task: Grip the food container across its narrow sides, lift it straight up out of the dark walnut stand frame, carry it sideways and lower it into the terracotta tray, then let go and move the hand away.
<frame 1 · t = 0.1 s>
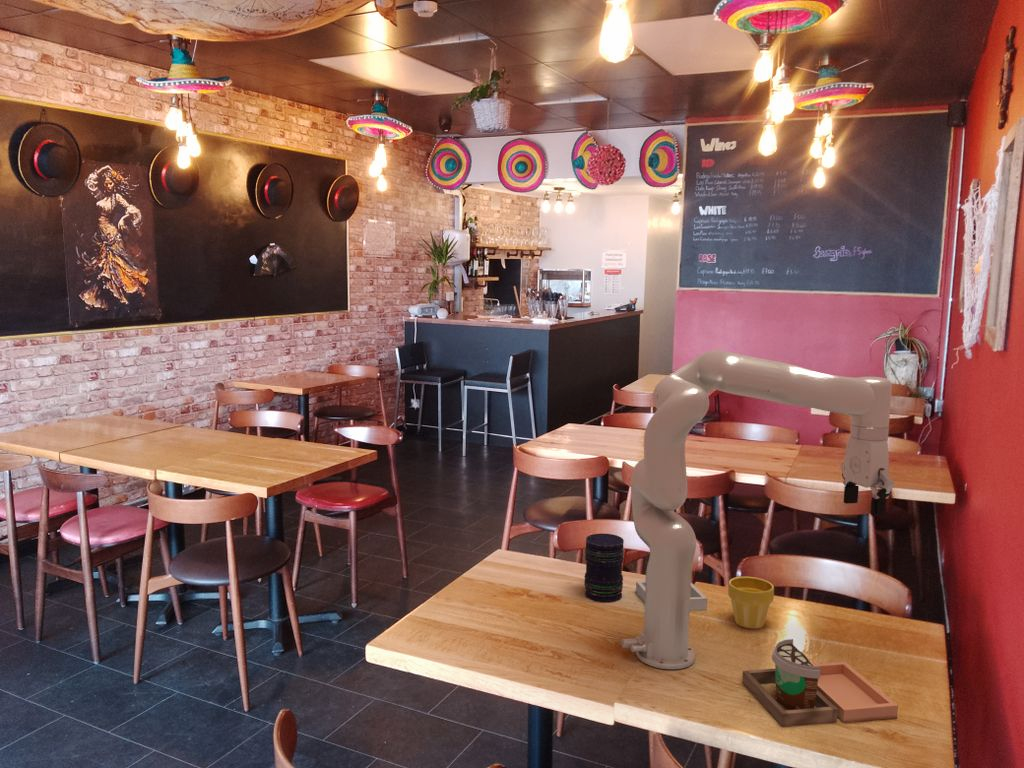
hand: (863, 509, 172), 31 cm above the table, tool pointing down, fingers open, 9 cm apart
grey parts rim: (670, 600, 198), on the table
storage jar: (603, 595, 201), on the table
terracotta tray: (843, 696, 153), on the table
pipe fitting: (670, 602, 198), on the table
food container: (787, 702, 151), on the table
walnut stand frame: (787, 701, 151), on the table
plant pot: (749, 623, 186), on the table
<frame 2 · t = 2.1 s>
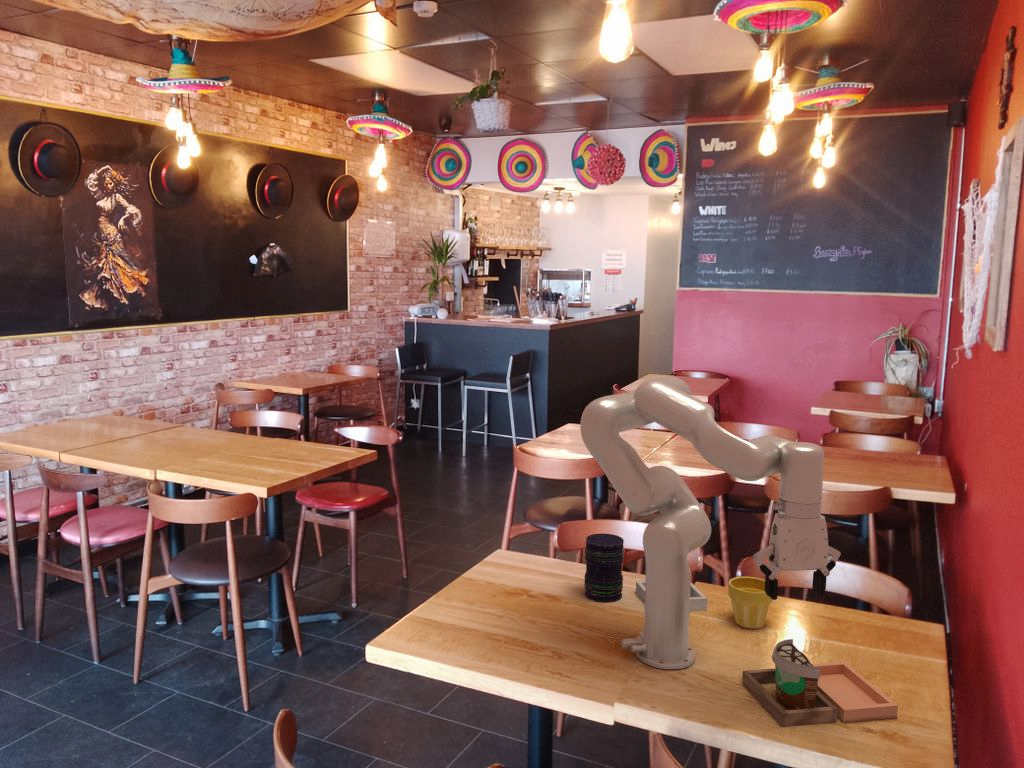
hand: (794, 595, 148), 22 cm above the table, tool pointing down, fingers open, 9 cm apart
pipe fitting: (672, 601, 199), on the table
everything else where it was.
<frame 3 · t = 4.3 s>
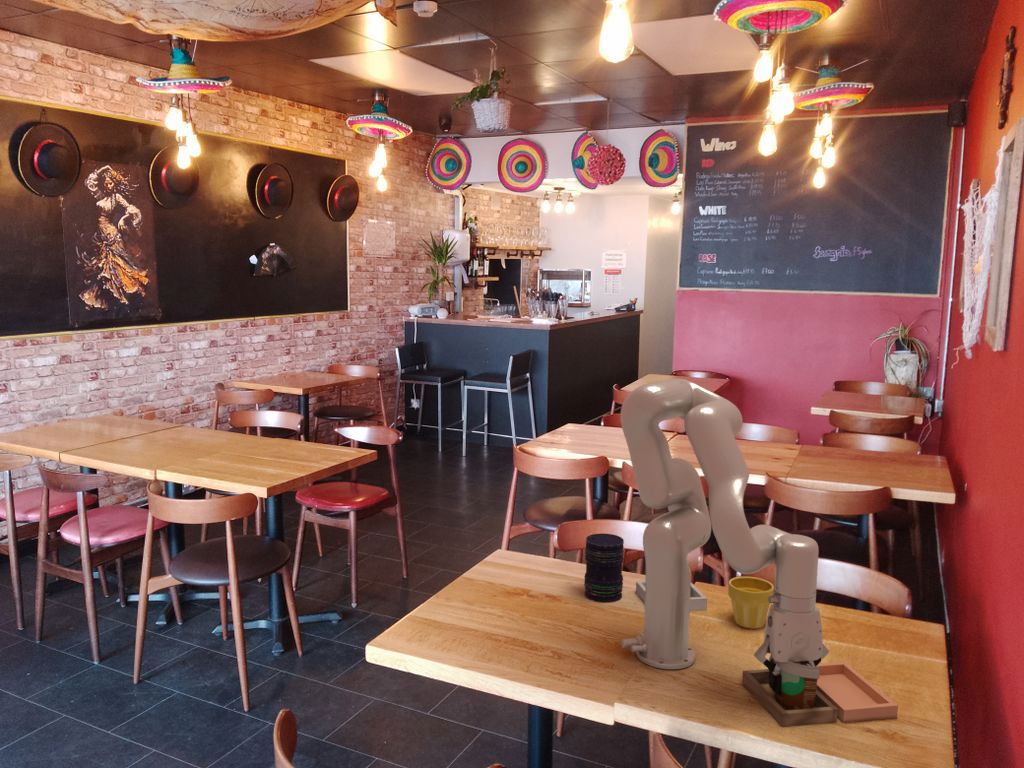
hand: (789, 688, 151), 3 cm above the table, tool pointing down, fingers closed on food container, 5 cm apart
food container: (785, 702, 151), on the table, touching gripper
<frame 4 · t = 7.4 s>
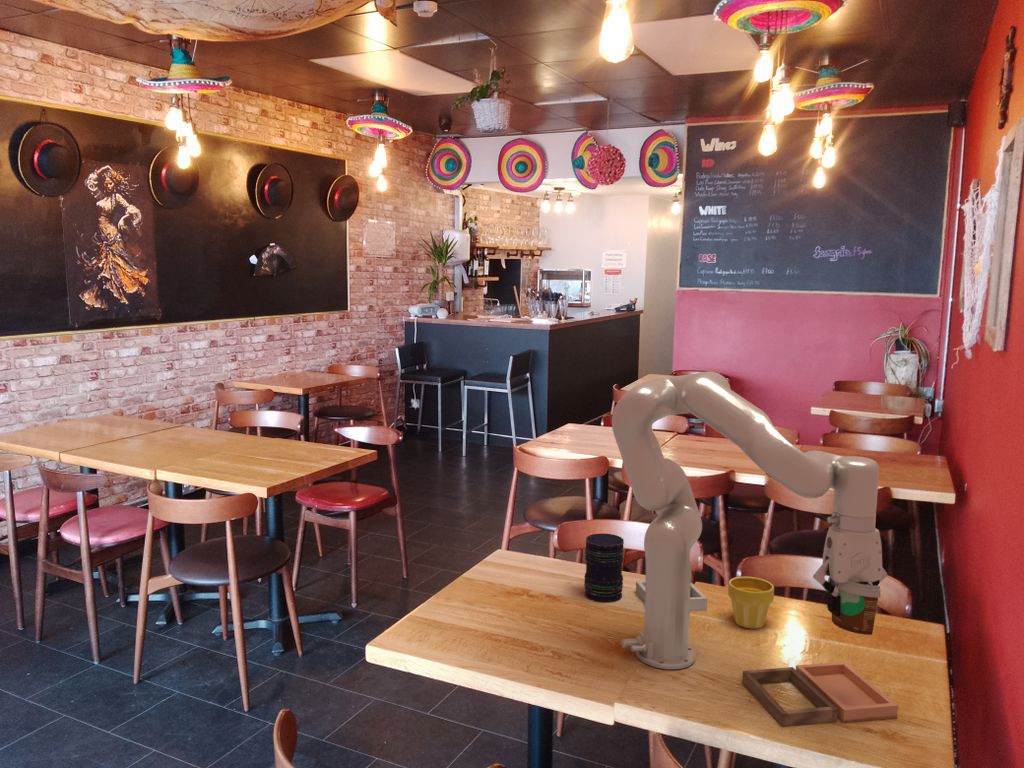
hand: (848, 611, 151), 18 cm above the table, tool pointing down, fingers closed on food container, 5 cm apart
food container: (843, 625, 151), point 15 cm above the table, touching gripper
everything else where it was.
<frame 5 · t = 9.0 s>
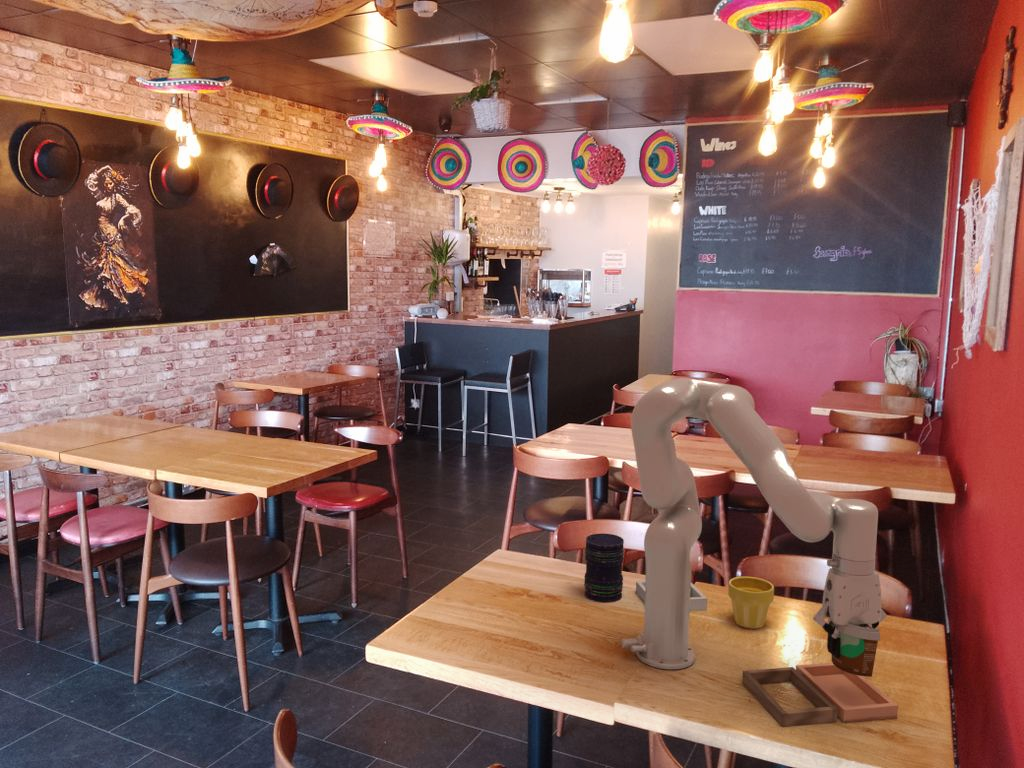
hand: (847, 652, 152), 9 cm above the table, tool pointing down, fingers closed on food container, 5 cm apart
food container: (843, 666, 152), point 6 cm above the table, touching gripper
everything else where it was.
when the fingers open (4 cm above the table, at t = 10.3 s): food container drops 1 cm, resting on terracotta tray.
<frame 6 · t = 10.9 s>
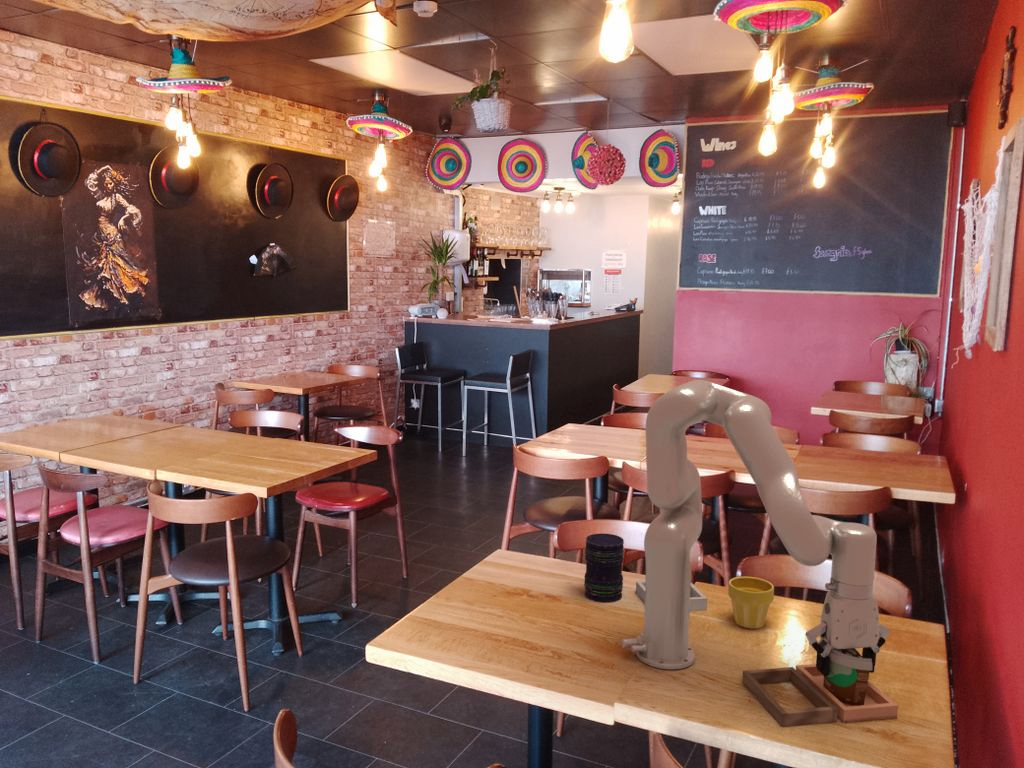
hand: (845, 671, 152), 5 cm above the table, tool pointing down, fingers open, 9 cm apart
food container: (835, 694, 153), resting on terracotta tray, touching gripper
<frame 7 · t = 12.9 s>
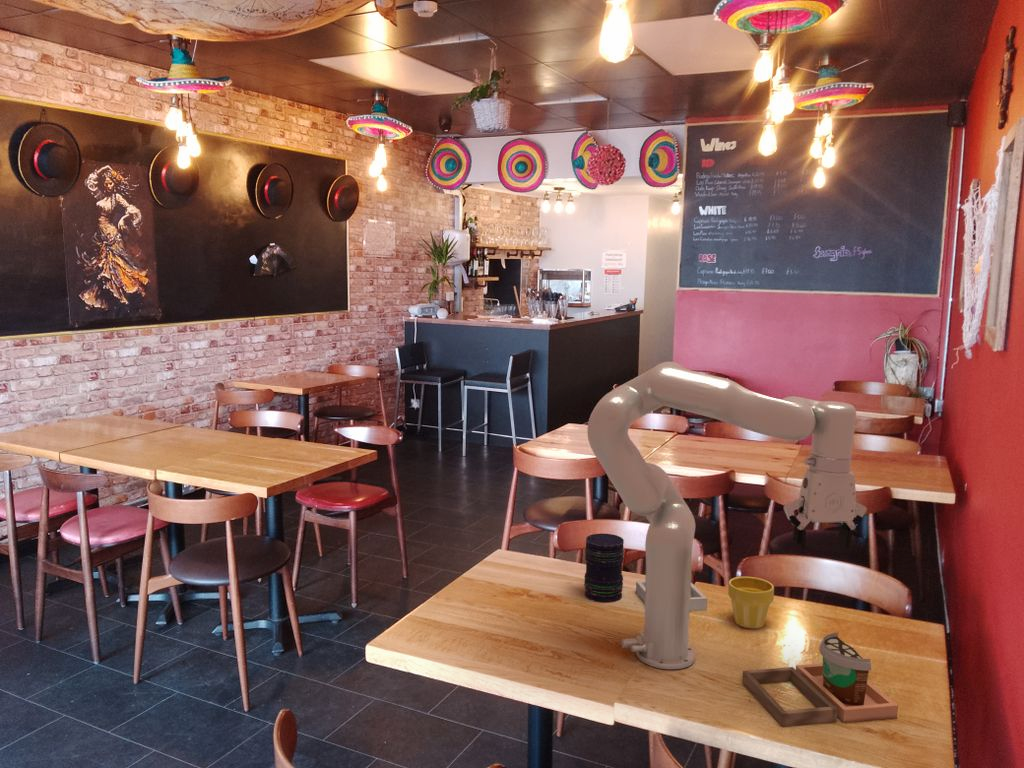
hand: (821, 546, 156), 28 cm above the table, tool pointing down, fingers open, 9 cm apart
food container: (835, 694, 153), resting on terracotta tray
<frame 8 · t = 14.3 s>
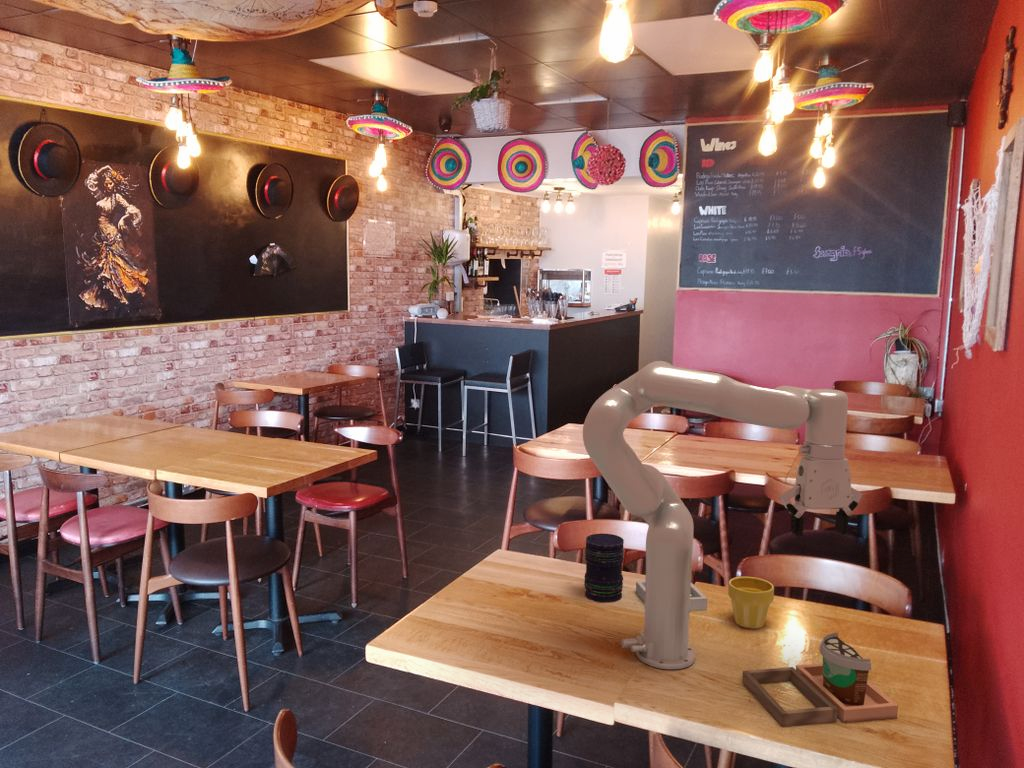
hand: (818, 533, 158), 30 cm above the table, tool pointing down, fingers open, 9 cm apart
at the end: food container 1.7 cm off-centre on the terracotta tray, point 0.3 cm above the terracotta tray's base; food container tilted 0°; the gripper is holding nothing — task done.
